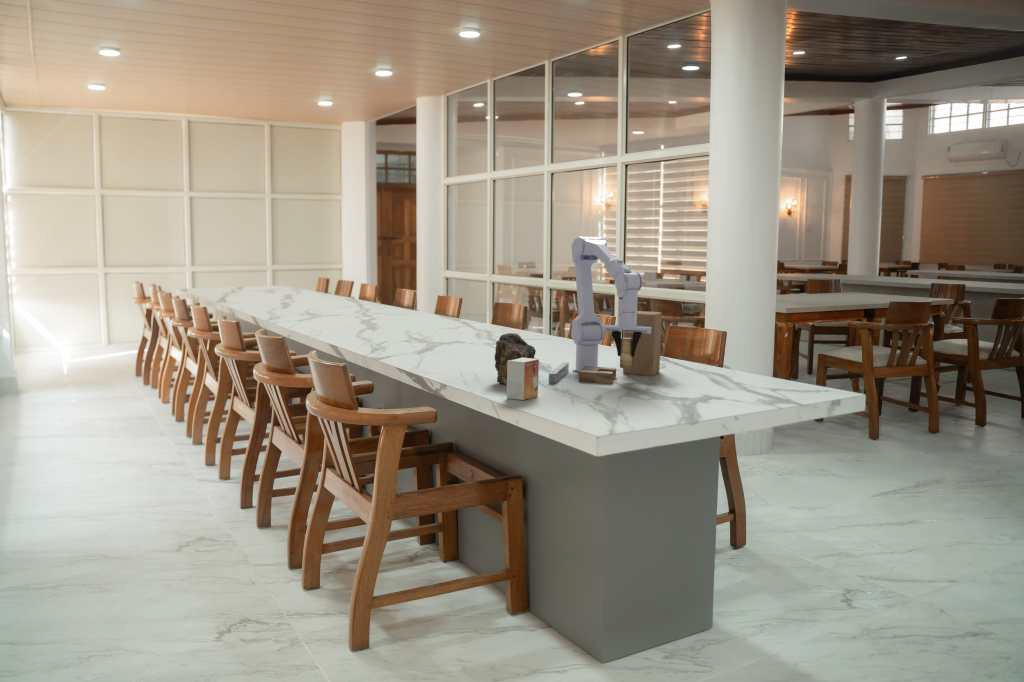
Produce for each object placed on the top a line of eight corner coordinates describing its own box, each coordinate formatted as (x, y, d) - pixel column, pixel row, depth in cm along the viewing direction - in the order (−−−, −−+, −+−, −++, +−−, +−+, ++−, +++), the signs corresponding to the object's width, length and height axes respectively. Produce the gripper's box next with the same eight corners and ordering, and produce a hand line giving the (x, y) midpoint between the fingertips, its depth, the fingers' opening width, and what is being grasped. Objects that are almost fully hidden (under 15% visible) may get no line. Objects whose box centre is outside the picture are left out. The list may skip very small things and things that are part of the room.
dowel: (620, 366, 265) (621, 337, 264) (632, 366, 264) (633, 338, 263) (619, 368, 262) (620, 338, 261) (631, 368, 261) (632, 339, 260)
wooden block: (622, 374, 277) (624, 312, 275) (630, 369, 287) (632, 310, 284) (652, 376, 274) (655, 314, 271) (659, 372, 283) (662, 312, 281)
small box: (523, 400, 229) (524, 362, 228) (506, 398, 232) (506, 360, 231) (538, 396, 236) (539, 358, 235) (521, 394, 239) (522, 357, 238)
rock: (513, 393, 249) (478, 377, 259) (542, 388, 258) (507, 373, 268) (521, 346, 246) (485, 332, 255) (550, 343, 255) (514, 329, 265)
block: (584, 375, 272) (584, 366, 272) (615, 377, 270) (616, 367, 270) (578, 381, 261) (579, 371, 260) (611, 383, 259) (611, 373, 258)
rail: (562, 371, 280) (562, 362, 280) (568, 371, 280) (568, 362, 279) (548, 383, 257) (549, 373, 257) (555, 383, 256) (555, 374, 256)
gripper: (602, 312, 259) (600, 356, 260) (650, 314, 255) (648, 358, 257) (605, 310, 266) (603, 353, 267) (652, 312, 262) (650, 355, 264)
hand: (626, 356), depth 263 cm, fingers closed on dowel, 4 cm apart
